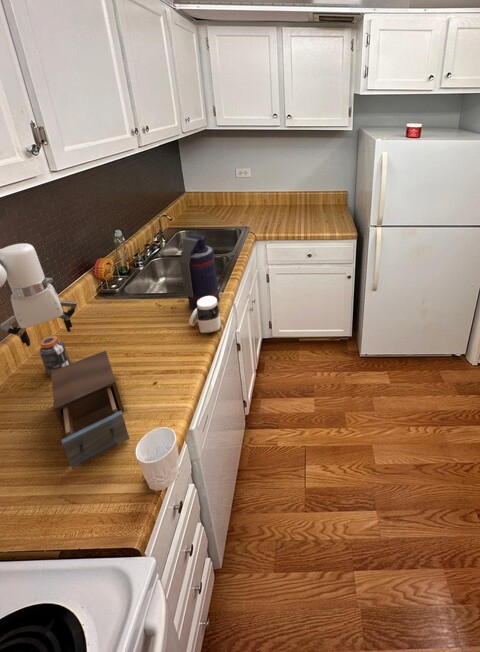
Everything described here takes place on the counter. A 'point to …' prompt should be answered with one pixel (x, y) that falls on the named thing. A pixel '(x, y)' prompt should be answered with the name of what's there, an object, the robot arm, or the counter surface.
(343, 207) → the counter surface
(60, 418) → the cabinet
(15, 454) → the counter surface
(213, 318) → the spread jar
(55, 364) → the pill bottle
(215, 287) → the navy water bottle
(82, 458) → the drawer
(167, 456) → the white cup
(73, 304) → the robot arm
